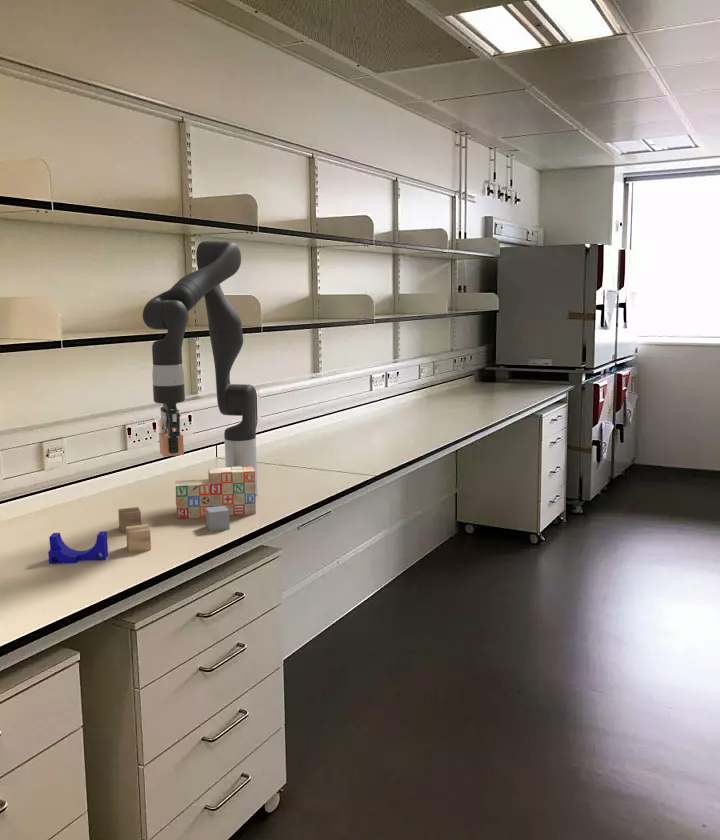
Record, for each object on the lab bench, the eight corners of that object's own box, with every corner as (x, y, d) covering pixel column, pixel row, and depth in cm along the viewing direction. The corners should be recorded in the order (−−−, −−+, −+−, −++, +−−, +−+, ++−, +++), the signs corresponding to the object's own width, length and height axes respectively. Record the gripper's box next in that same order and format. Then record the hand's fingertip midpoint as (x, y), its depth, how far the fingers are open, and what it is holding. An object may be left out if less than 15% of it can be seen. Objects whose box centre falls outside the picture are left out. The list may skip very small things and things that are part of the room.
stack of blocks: (176, 519, 213) (174, 474, 211) (176, 513, 219) (174, 469, 217) (256, 514, 217) (255, 470, 215) (254, 508, 224) (253, 465, 222)
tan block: (119, 527, 206) (118, 509, 205) (139, 525, 208) (138, 507, 207) (121, 533, 201) (120, 514, 200) (141, 530, 203) (140, 511, 202)
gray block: (206, 526, 206) (205, 507, 206) (225, 524, 208) (224, 505, 208) (210, 531, 202) (209, 512, 201) (229, 529, 204) (228, 510, 203)
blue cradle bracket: (49, 564, 179) (47, 538, 178) (55, 557, 183) (53, 532, 182) (103, 562, 179) (101, 537, 178) (108, 556, 184) (106, 531, 183)
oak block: (126, 546, 190) (125, 526, 190) (148, 544, 192) (147, 524, 191) (129, 553, 186) (128, 532, 185) (151, 550, 188) (150, 529, 187)
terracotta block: (160, 452, 198) (159, 433, 197) (180, 451, 200) (179, 431, 199) (163, 456, 193) (162, 436, 193) (183, 454, 195) (182, 434, 195)
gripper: (189, 385, 189) (192, 455, 191) (178, 379, 202) (181, 444, 205) (157, 386, 186) (160, 457, 189) (148, 380, 199) (152, 447, 202)
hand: (171, 450), depth 197 cm, fingers closed on terracotta block, 5 cm apart
